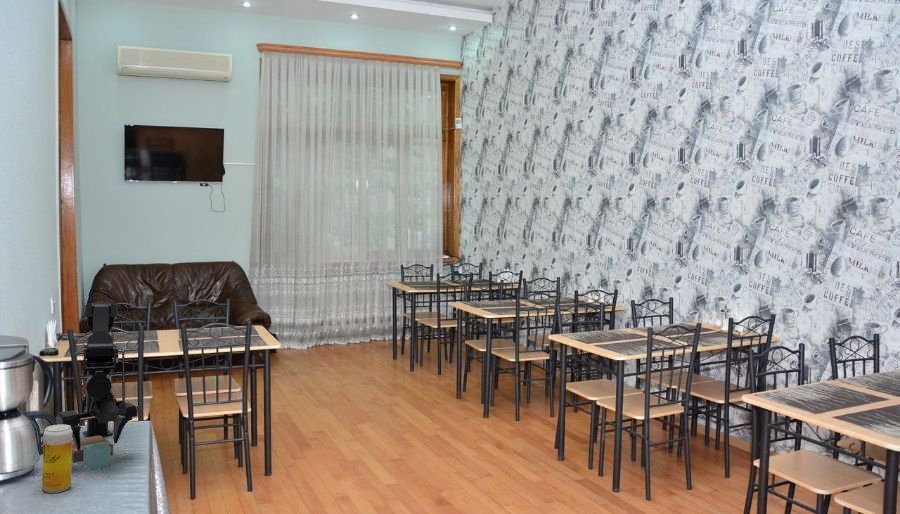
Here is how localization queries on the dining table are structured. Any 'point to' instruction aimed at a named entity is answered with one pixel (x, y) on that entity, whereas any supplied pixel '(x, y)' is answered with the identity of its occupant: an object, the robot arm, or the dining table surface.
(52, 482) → the beer can
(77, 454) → the walnut base
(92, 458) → the block
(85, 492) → the dining table surface
